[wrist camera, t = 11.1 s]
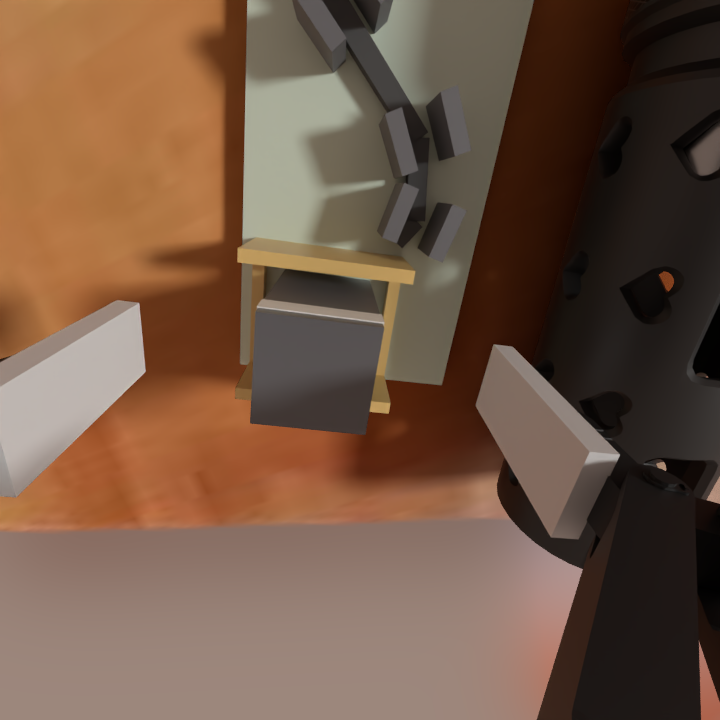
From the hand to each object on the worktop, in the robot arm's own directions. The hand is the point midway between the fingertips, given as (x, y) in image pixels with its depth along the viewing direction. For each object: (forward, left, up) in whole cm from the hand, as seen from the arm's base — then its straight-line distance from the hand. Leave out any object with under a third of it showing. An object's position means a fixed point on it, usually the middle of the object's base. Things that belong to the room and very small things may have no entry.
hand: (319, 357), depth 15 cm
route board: (-6, +1, -8) cm, 10 cm away
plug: (+1, 0, -7) cm, 7 cm away
